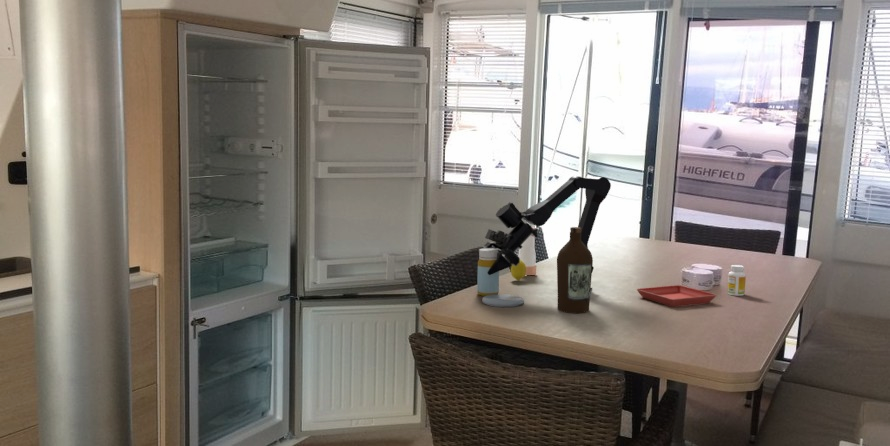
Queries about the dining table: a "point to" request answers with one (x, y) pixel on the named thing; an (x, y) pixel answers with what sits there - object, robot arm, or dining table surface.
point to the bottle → (485, 281)
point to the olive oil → (574, 275)
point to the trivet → (503, 300)
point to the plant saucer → (676, 295)
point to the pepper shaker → (528, 255)
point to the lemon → (518, 270)
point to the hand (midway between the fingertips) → (484, 272)
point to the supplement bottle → (736, 281)
